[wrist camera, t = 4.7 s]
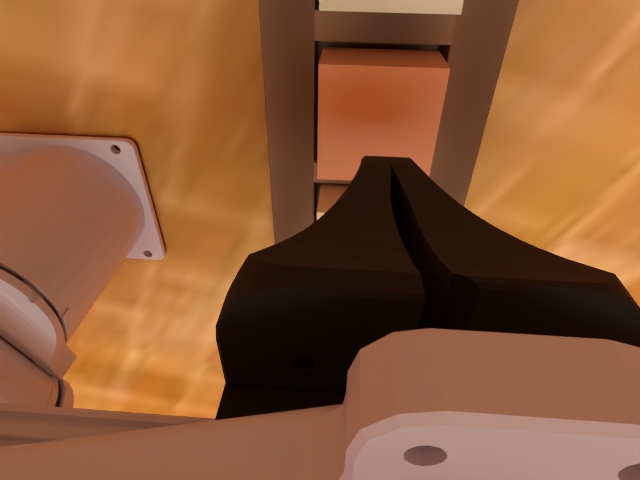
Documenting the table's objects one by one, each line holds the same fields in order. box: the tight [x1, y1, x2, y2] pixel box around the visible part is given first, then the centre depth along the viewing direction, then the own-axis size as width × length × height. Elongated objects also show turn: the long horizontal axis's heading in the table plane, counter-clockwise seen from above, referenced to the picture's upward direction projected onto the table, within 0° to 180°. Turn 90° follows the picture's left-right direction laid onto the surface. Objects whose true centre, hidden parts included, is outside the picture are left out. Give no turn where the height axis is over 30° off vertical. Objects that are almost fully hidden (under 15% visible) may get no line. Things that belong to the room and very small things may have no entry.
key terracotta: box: [317, 47, 450, 181], centre depth 16 cm, size 4×4×2 cm
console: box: [259, 0, 519, 244], centre depth 16 cm, size 9×26×3 cm, turn 179°
